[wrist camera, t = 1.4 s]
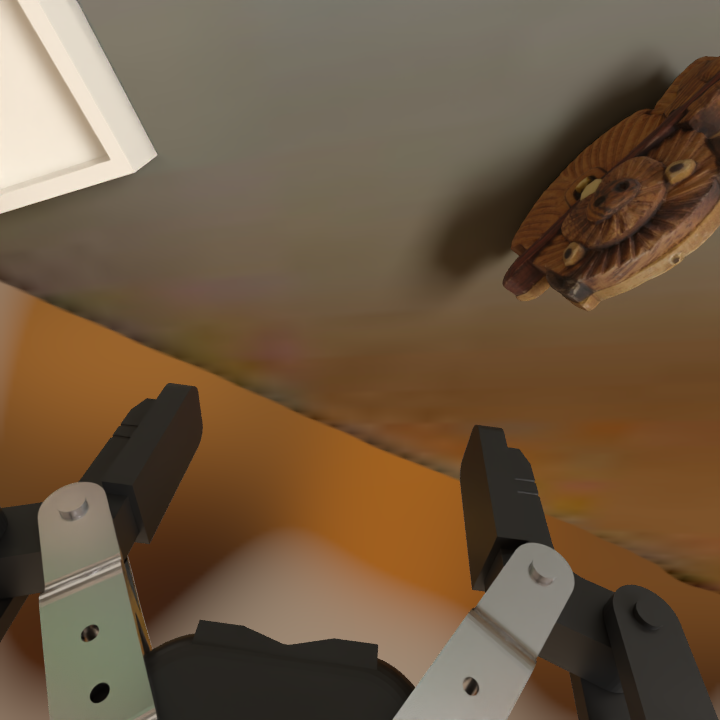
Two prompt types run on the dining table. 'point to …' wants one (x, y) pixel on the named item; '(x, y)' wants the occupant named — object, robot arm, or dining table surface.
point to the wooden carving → (628, 200)
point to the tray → (60, 106)
